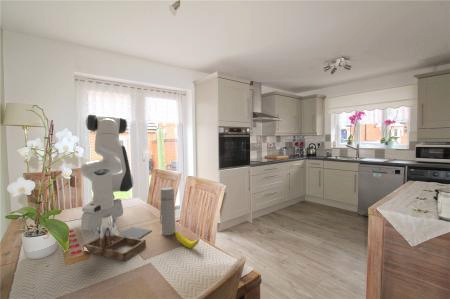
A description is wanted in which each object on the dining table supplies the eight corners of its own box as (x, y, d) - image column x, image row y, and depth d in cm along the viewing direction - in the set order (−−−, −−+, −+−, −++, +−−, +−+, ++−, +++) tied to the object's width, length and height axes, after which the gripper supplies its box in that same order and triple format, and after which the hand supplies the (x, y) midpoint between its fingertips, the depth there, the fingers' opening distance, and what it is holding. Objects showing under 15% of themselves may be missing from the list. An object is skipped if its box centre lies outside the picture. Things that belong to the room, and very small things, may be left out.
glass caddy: (84, 251, 100) (83, 245, 100) (107, 238, 112) (107, 233, 112) (124, 260, 91) (124, 254, 91) (145, 246, 103) (145, 240, 103)
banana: (177, 238, 110) (177, 227, 110) (201, 251, 97) (201, 238, 97) (172, 241, 108) (172, 228, 108) (196, 254, 95) (196, 240, 95)
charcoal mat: (115, 237, 114) (115, 236, 113) (132, 228, 125) (132, 227, 125) (135, 241, 109) (135, 240, 109) (151, 231, 120) (151, 230, 120)
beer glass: (101, 242, 107) (100, 213, 106) (115, 241, 107) (114, 212, 107) (94, 249, 100) (92, 218, 99) (109, 248, 100) (108, 217, 100)
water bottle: (178, 231, 119) (177, 187, 118) (169, 237, 112) (167, 190, 110) (165, 228, 123) (164, 186, 121) (156, 234, 116) (154, 189, 114)
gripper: (116, 196, 113) (117, 222, 114) (78, 209, 94) (80, 239, 95) (125, 197, 111) (126, 223, 112) (88, 210, 92) (90, 241, 93)
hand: (105, 231), depth 103 cm, fingers closed on beer glass, 6 cm apart
